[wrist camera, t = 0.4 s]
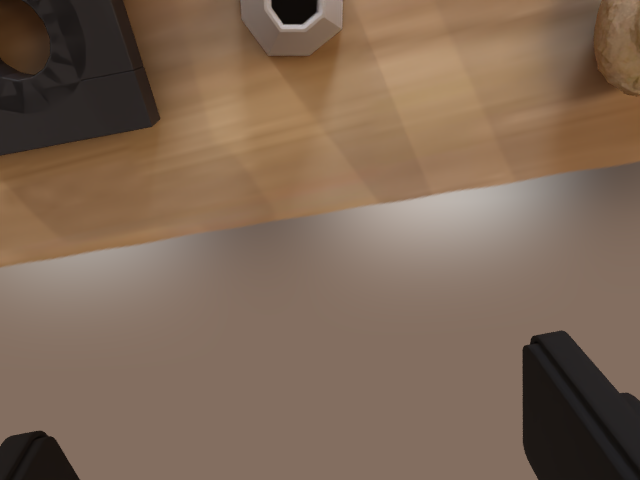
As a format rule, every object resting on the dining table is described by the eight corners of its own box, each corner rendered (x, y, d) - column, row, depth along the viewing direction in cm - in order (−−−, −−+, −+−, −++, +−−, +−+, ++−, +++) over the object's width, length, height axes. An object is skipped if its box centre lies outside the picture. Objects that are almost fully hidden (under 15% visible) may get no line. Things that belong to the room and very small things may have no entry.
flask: (261, 72, 35) (253, 94, 26) (220, -39, 32) (195, -57, 23) (357, 38, 34) (384, 48, 25) (326, -79, 31) (343, -114, 22)
